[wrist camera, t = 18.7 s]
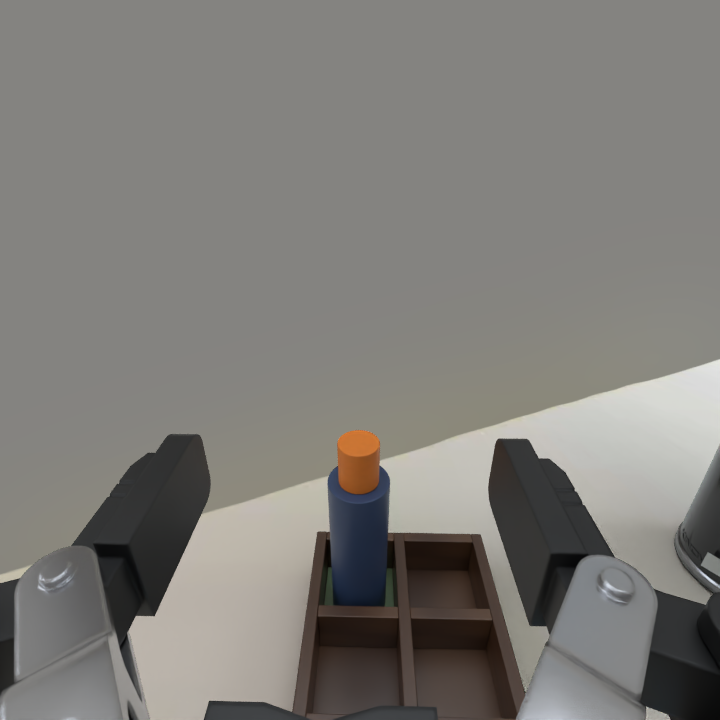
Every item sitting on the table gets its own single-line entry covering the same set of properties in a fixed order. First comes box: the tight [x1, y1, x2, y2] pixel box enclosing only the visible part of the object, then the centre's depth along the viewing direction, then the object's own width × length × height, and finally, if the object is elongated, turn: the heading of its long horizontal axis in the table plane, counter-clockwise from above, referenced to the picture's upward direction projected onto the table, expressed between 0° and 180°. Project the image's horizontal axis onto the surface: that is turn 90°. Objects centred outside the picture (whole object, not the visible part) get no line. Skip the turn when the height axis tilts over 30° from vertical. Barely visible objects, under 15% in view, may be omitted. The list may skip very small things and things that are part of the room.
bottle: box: [328, 430, 390, 607], centre depth 29 cm, size 4×4×15 cm
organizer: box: [292, 532, 525, 720], centre depth 29 cm, size 13×13×4 cm
